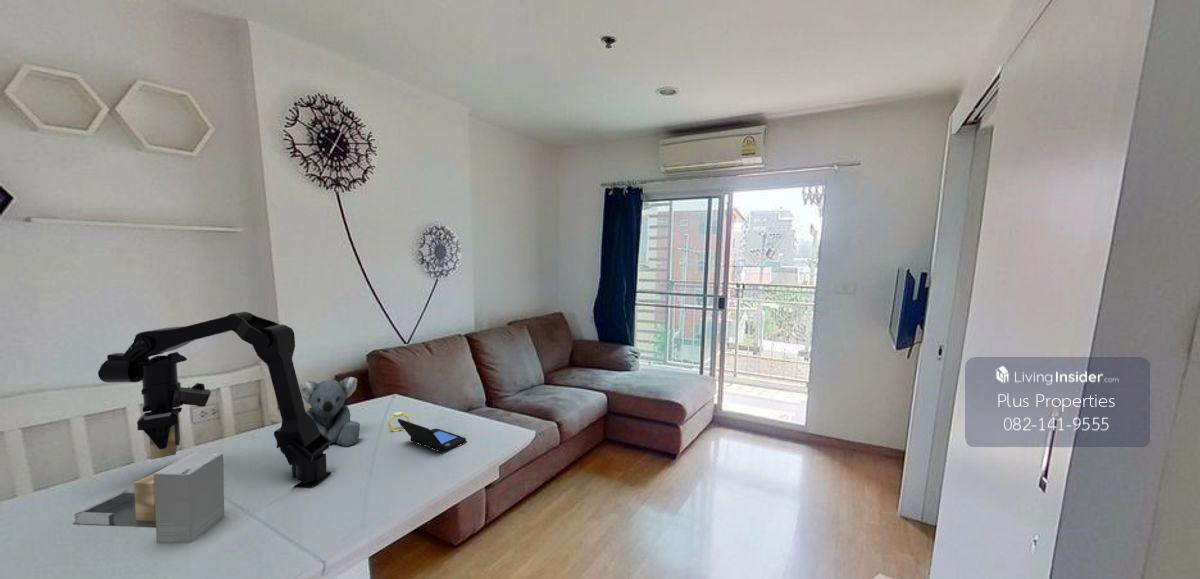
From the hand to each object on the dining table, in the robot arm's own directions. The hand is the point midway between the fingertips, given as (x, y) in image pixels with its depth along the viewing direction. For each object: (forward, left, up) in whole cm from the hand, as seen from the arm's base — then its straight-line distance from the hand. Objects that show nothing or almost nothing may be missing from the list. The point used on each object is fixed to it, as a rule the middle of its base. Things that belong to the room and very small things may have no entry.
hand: (164, 445), depth 98 cm
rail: (-8, +12, -10) cm, 18 cm away
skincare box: (-25, +17, -11) cm, 32 cm away
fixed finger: (-12, +12, -9) cm, 19 cm away
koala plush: (-20, -28, -11) cm, 36 cm away
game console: (-54, -27, -11) cm, 61 cm away
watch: (-38, -36, -11) cm, 53 cm away
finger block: (0, 0, -2) cm, 2 cm away
